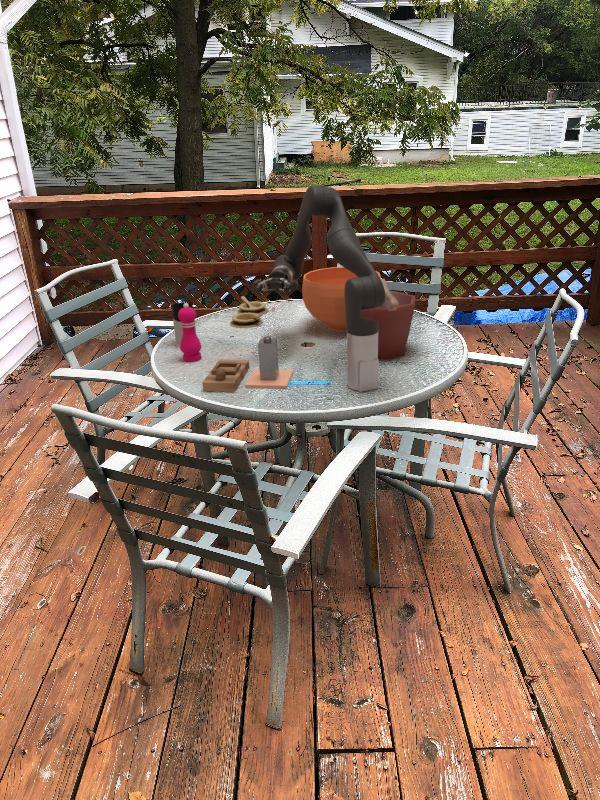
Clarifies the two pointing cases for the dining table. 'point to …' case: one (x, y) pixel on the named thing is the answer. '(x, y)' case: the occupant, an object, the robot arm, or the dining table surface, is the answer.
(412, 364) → the dining table surface
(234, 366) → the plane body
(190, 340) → the pepper mill
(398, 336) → the bucket
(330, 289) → the bowl
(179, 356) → the dining table surface
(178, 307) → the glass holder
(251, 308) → the tableware set
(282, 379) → the coaster
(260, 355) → the grey square grinder
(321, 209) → the robot arm
